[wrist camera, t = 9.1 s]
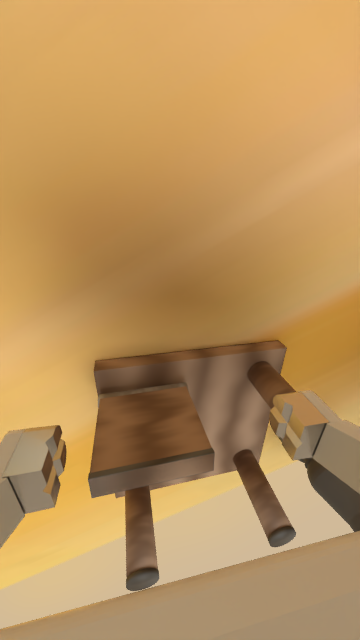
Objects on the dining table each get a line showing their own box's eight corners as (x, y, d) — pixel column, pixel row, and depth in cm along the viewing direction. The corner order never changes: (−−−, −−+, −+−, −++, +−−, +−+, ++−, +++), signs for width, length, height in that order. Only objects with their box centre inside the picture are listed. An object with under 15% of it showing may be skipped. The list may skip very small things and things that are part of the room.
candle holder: (283, 441, 45) (438, 664, 23) (269, 426, 42) (430, 666, 20) (310, 422, 44) (496, 634, 22) (297, 406, 42) (497, 631, 20)
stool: (278, 340, 34) (362, 412, 22) (252, 455, 45) (300, 544, 33) (95, 361, 29) (77, 469, 17) (116, 485, 40) (114, 604, 28)
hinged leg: (184, 378, 30) (216, 452, 20) (184, 392, 31) (215, 470, 21) (99, 390, 28) (85, 479, 18) (101, 405, 29) (89, 498, 19)
